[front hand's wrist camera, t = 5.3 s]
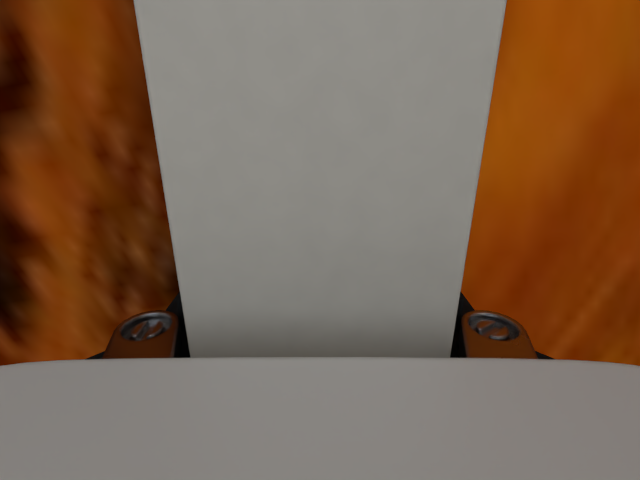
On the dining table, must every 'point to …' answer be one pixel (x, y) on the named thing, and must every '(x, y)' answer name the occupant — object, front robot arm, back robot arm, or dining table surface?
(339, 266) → the beam
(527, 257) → the dining table surface
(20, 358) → the dining table surface
